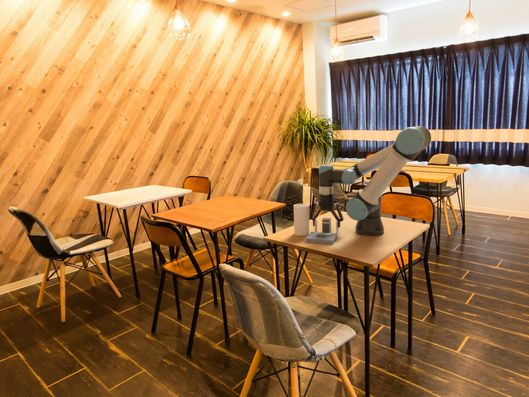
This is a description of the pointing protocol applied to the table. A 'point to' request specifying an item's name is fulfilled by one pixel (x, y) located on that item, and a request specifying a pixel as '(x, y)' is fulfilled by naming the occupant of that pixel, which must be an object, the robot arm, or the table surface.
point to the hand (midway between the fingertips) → (326, 232)
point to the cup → (301, 219)
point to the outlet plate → (321, 237)
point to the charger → (326, 225)
